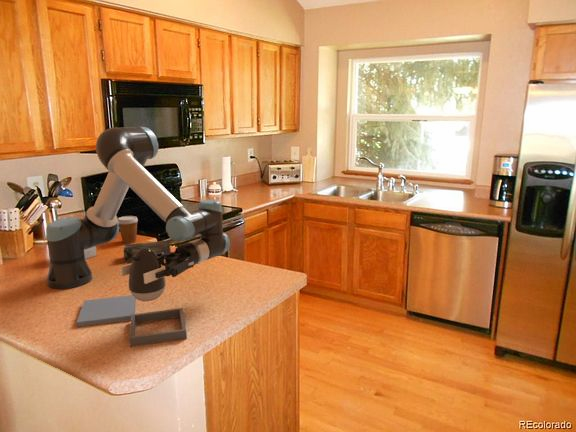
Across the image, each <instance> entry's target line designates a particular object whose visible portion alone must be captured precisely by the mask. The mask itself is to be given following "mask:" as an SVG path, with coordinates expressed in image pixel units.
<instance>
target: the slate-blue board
mask: <svg viewBox="0 0 576 432" xmlns="http://www.w3.org/2000/svg"><path fill="white" fill-rule="evenodd" d="M136 301H137V299H136V298H134V297H133V295H132V294H129V295H123V296H112V297H111V296H110V297H103V298H95V299H87V300H86V299H85V300H83V303H82V306H81V309H80V312H79V315H78V317H77V319H76V327H77V328H80V327H87V326H95V325H103V324H112V323H117V322H118V323H120V322H127V321H131V315H132V314H136V313H135V311H136Z"/></svg>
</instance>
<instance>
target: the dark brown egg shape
mask: <svg viewBox="0 0 576 432" xmlns="http://www.w3.org/2000/svg"><path fill="white" fill-rule="evenodd" d="M131 259H132V260H133V261H131V263H132V264H131V268H130V273H129V274H128V291H130V295H133V297H134V298H136V301H140V302H151V301H155V300H157V299H158V298H160V297H161V296H162V295H163V293H164V290H165V287H166V284H167V283H166V276H164V277H162V278H159V279H157V280H154V281H152V282H149V283H147V284H145V283H144V274H145V273H147V272H150V271H153V270H155V269H158V268H161V267H163V266H162V265H161V263H160V261H159V259H158V257H157V255H156V254H155V252H154V251H153V250H152V249H150V248H141V249H139V250H138V251H137V252H136V254H135V256H132V257H131Z"/></svg>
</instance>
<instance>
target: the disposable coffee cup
mask: <svg viewBox="0 0 576 432" xmlns="http://www.w3.org/2000/svg"><path fill="white" fill-rule="evenodd" d="M117 219H118V222H119V225H118V227H119V232H120V236H121V240H122V243H124V244H135V243H136V242H137V236H138V235H137V231H138V221H139V219H138V217H137V216H134V215H125V216H124V215H123V216H121V217H117Z"/></svg>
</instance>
